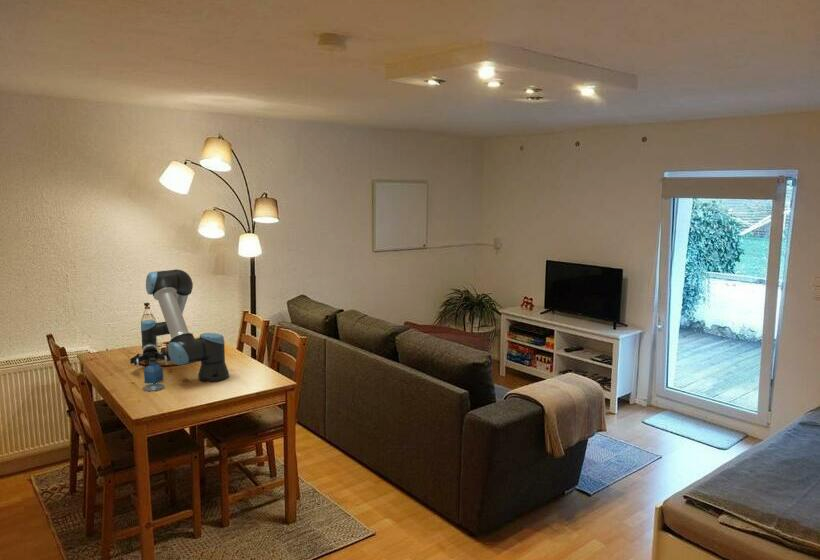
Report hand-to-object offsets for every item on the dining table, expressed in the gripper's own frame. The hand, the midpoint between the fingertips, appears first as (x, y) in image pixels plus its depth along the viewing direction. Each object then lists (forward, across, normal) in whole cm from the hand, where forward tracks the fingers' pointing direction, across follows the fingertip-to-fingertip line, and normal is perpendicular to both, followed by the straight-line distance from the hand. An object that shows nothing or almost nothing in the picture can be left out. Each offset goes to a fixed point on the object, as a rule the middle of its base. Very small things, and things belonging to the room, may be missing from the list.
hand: (152, 363), depth 305 cm
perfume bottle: (+9, 0, -7) cm, 12 cm away
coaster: (+20, +1, -7) cm, 21 cm away
